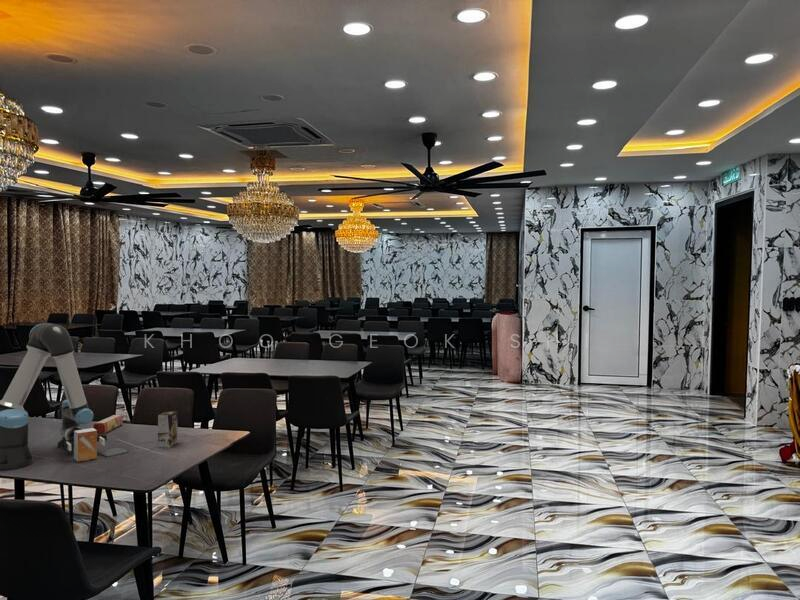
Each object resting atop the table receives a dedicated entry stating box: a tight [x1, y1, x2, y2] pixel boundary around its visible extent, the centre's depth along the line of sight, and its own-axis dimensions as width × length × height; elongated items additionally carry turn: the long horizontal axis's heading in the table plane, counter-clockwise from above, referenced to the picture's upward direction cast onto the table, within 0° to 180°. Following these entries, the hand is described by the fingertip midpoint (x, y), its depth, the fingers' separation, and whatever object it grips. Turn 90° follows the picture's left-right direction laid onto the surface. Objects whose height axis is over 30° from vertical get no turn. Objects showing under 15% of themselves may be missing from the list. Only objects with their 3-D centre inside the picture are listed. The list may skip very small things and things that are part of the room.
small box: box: [73, 427, 98, 463], centre depth 256 cm, size 8×6×13 cm
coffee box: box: [157, 410, 178, 449], centre depth 280 cm, size 9×6×16 cm
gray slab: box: [97, 446, 130, 458], centre depth 266 cm, size 10×10×1 cm
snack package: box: [92, 414, 124, 435], centre depth 308 cm, size 21×7×7 cm, turn 1°
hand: (87, 445), depth 254 cm, fingers open, 13 cm apart
